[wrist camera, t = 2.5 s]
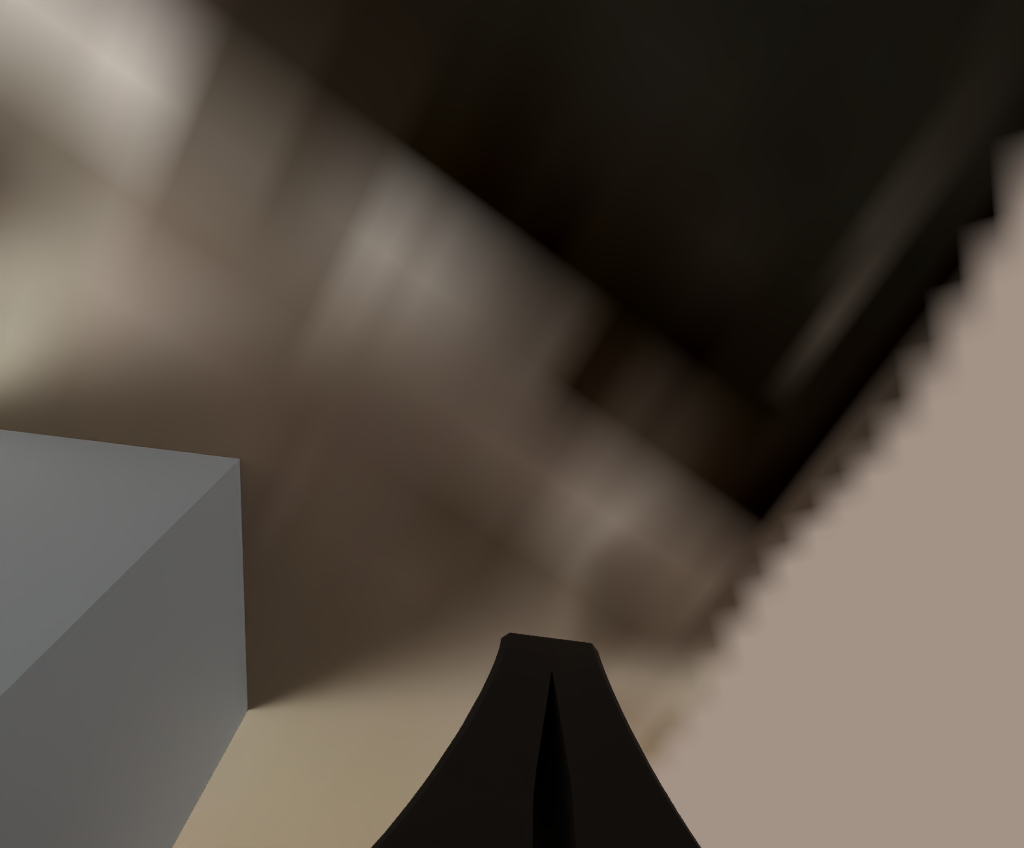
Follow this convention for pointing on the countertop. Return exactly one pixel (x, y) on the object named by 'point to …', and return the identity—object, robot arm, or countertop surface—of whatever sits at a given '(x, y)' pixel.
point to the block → (115, 638)
